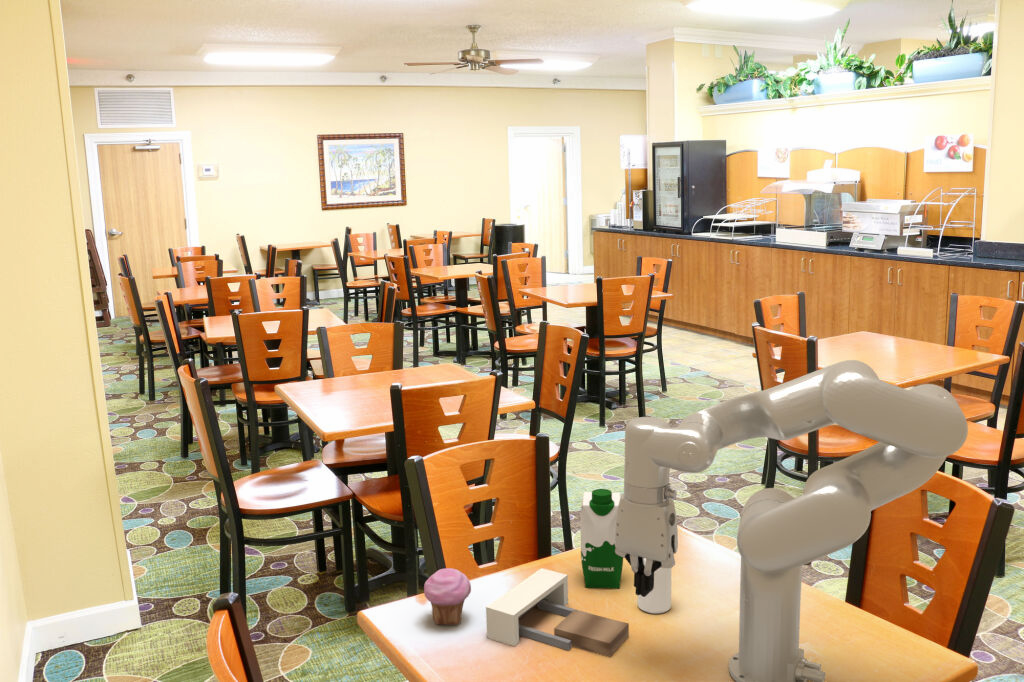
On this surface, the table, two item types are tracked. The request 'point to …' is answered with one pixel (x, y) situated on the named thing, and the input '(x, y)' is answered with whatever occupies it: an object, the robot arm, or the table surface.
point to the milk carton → (600, 539)
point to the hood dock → (519, 600)
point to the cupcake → (447, 595)
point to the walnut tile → (593, 632)
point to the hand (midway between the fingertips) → (643, 592)
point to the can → (658, 593)
